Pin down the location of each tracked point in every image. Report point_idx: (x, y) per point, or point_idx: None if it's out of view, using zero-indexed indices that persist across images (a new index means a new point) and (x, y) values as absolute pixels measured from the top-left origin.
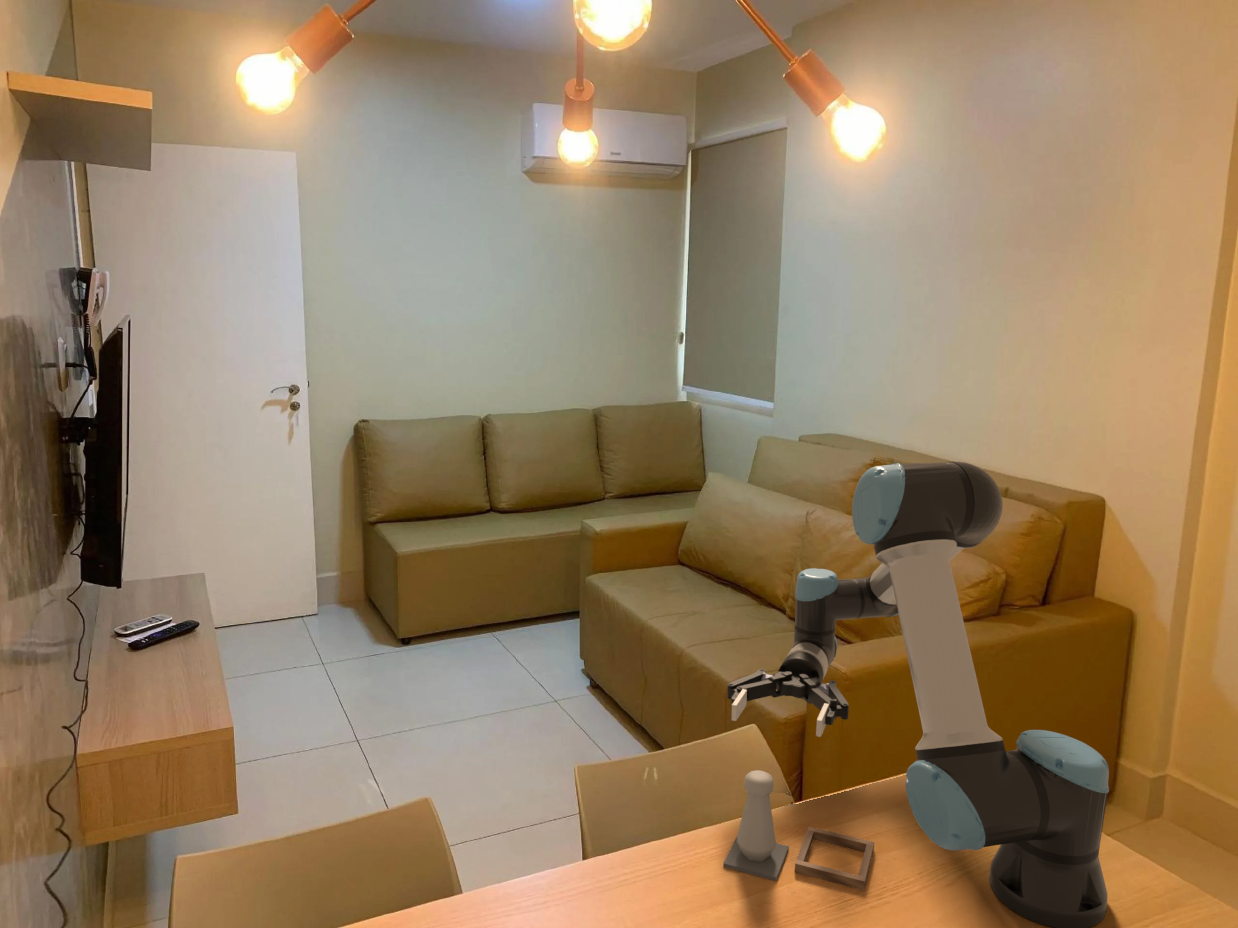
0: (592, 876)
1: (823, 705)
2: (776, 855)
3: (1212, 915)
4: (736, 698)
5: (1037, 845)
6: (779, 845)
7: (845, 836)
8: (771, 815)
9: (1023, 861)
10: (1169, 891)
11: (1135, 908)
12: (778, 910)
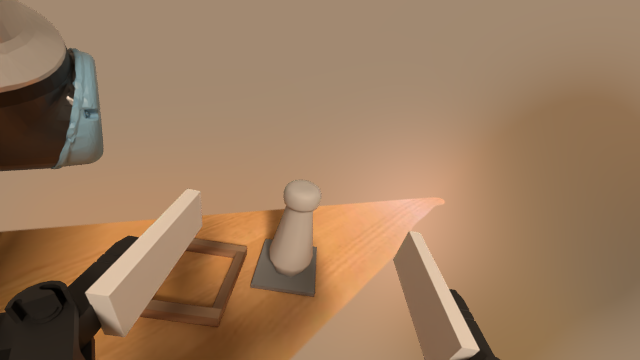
0: (399, 227)
1: (128, 272)
2: (266, 266)
3: None
4: (436, 267)
5: None
6: (262, 282)
7: (162, 307)
8: (279, 223)
9: None
10: None
11: None
12: (263, 216)
